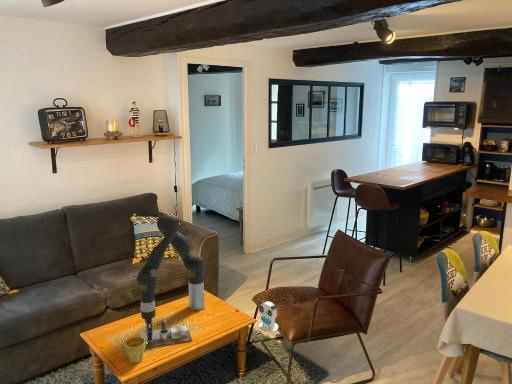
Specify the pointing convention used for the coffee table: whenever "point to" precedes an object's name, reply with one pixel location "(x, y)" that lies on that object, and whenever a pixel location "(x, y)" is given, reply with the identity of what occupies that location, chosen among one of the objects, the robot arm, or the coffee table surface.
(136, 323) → the coffee table surface
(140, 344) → the plant pot
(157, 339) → the hinge leaf
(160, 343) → the hinge base
